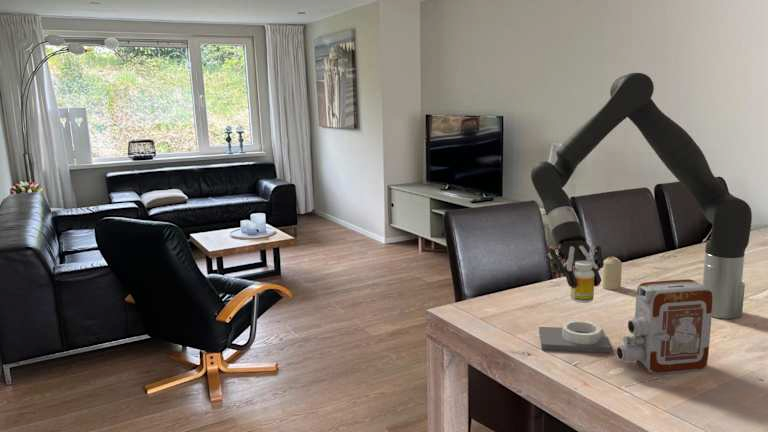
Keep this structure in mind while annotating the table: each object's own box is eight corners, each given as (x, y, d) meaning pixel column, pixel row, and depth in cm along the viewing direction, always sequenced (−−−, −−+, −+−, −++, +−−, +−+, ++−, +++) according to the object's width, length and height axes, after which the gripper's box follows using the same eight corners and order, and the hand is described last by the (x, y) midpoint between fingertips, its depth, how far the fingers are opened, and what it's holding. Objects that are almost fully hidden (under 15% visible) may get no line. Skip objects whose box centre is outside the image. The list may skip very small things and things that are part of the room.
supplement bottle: (566, 297, 142) (567, 261, 140) (583, 294, 144) (584, 258, 142) (580, 304, 137) (581, 267, 135) (598, 301, 139) (599, 264, 137)
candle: (622, 290, 178) (623, 260, 176) (604, 290, 180) (605, 259, 178) (618, 284, 184) (620, 255, 182) (601, 284, 185) (602, 255, 183)
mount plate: (602, 334, 147) (603, 320, 146) (610, 353, 136) (610, 337, 135) (539, 331, 150) (539, 317, 149) (541, 349, 139) (542, 334, 139)
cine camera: (607, 361, 132) (611, 280, 128) (686, 355, 134) (692, 274, 130) (627, 380, 123) (632, 293, 119) (712, 373, 125) (719, 287, 121)
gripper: (543, 222, 143) (564, 281, 134) (596, 218, 145) (620, 276, 136) (534, 237, 149) (553, 295, 140) (585, 233, 151) (607, 290, 142)
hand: (586, 285), depth 138 cm, fingers closed on supplement bottle, 5 cm apart
